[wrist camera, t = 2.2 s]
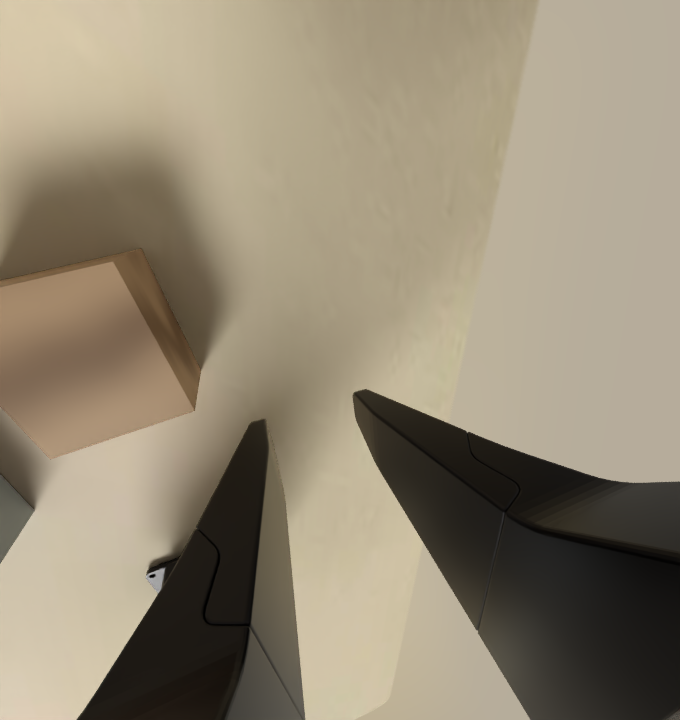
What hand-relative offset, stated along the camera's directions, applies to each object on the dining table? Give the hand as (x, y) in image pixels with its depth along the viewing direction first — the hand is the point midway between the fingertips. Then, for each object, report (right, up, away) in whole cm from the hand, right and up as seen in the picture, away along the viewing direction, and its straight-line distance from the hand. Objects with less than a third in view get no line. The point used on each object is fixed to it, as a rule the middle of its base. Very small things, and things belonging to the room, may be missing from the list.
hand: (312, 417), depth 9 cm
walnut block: (-13, +3, +9) cm, 16 cm away
